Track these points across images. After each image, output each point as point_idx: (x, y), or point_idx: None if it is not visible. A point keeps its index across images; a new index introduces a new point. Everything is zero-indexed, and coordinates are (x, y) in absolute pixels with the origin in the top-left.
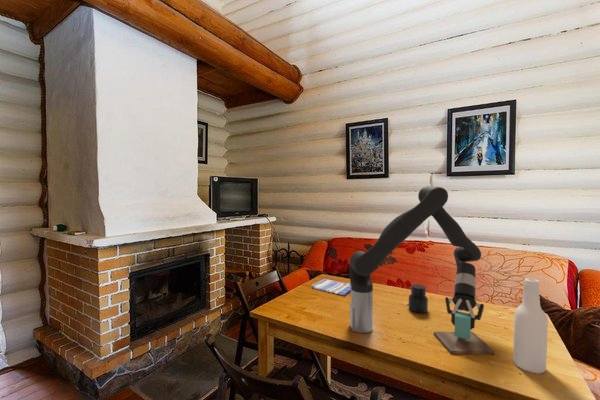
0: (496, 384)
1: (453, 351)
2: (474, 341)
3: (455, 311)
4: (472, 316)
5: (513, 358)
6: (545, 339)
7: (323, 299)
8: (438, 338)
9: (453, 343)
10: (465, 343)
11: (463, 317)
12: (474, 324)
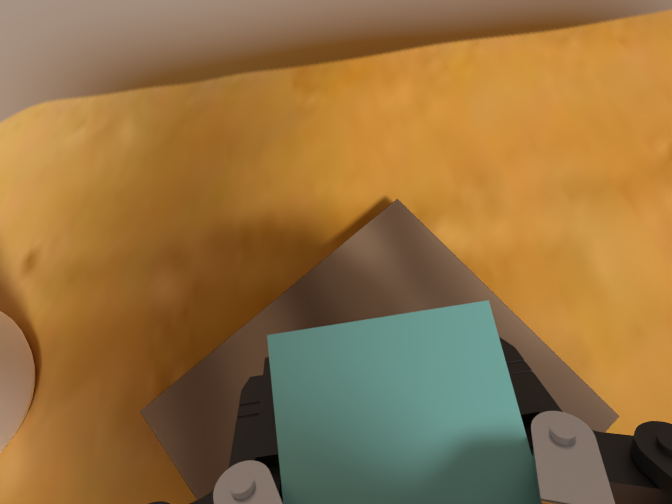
0: (149, 89)
1: (383, 210)
2: None
3: (546, 463)
4: (253, 477)
5: (23, 370)
6: None
7: None
8: (537, 343)
9: None
10: None
11: (367, 326)
12: (239, 402)
